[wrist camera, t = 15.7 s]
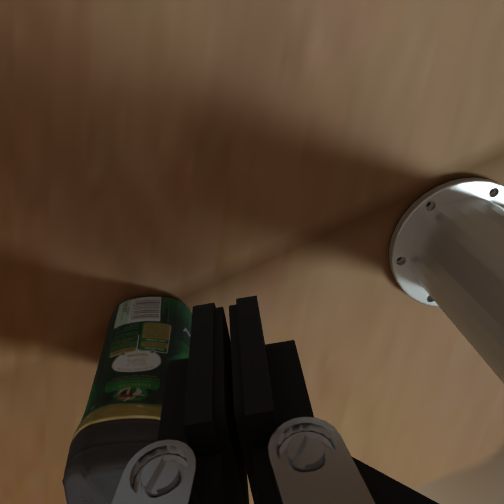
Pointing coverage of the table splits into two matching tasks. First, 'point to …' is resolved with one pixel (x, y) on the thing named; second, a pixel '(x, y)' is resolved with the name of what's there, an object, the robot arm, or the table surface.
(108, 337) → the coffee jar
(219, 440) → the robot arm
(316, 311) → the table surface
